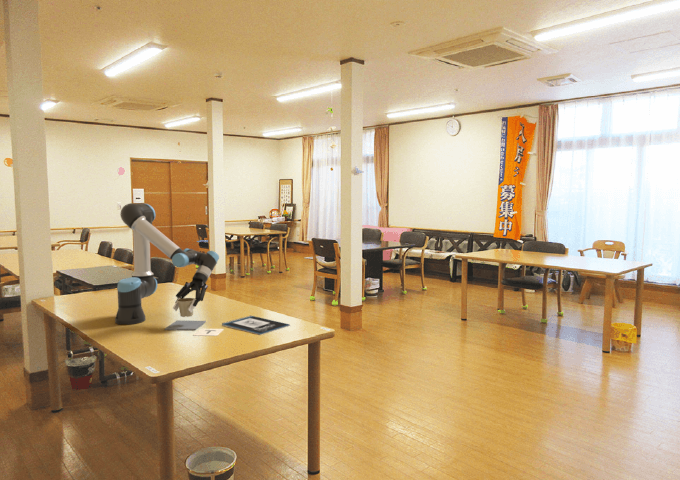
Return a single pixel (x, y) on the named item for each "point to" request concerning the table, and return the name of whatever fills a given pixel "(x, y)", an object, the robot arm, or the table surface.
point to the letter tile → (208, 332)
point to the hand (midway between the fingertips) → (182, 310)
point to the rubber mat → (185, 325)
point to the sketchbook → (255, 325)
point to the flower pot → (185, 306)
